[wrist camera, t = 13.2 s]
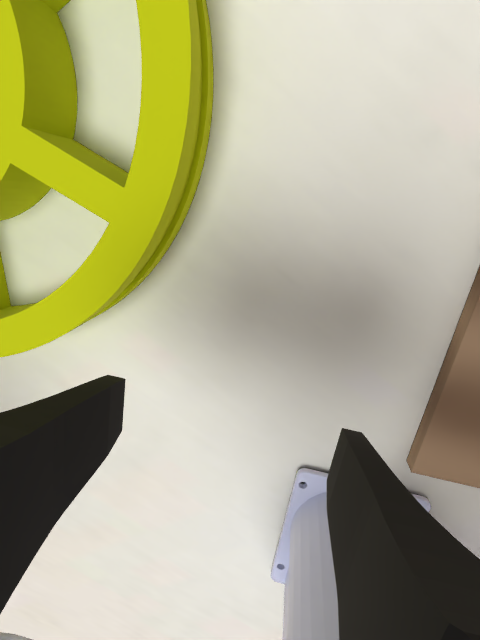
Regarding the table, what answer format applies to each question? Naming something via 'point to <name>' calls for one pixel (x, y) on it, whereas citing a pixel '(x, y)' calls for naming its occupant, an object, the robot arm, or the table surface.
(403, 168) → the table surface
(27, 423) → the robot arm
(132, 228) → the pulley
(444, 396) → the base board
